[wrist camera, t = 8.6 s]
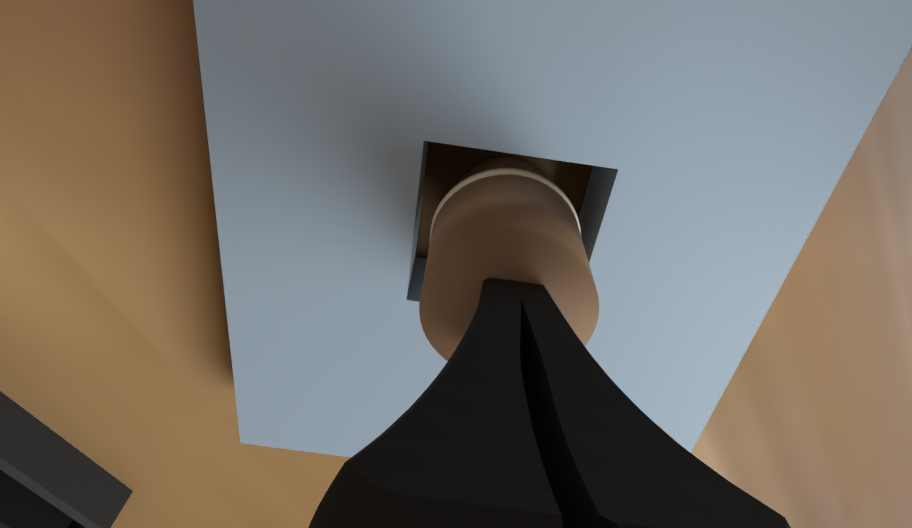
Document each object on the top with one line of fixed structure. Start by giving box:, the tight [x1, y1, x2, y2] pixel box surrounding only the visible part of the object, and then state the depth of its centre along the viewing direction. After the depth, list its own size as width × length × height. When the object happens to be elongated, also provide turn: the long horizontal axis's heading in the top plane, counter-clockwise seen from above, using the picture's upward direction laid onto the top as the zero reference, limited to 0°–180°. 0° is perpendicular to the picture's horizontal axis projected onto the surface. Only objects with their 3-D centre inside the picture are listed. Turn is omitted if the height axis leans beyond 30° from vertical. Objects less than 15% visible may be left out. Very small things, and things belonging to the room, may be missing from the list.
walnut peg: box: [419, 156, 599, 361], centre depth 15 cm, size 4×4×6 cm
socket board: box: [193, 0, 912, 457], centre depth 16 cm, size 16×20×2 cm
